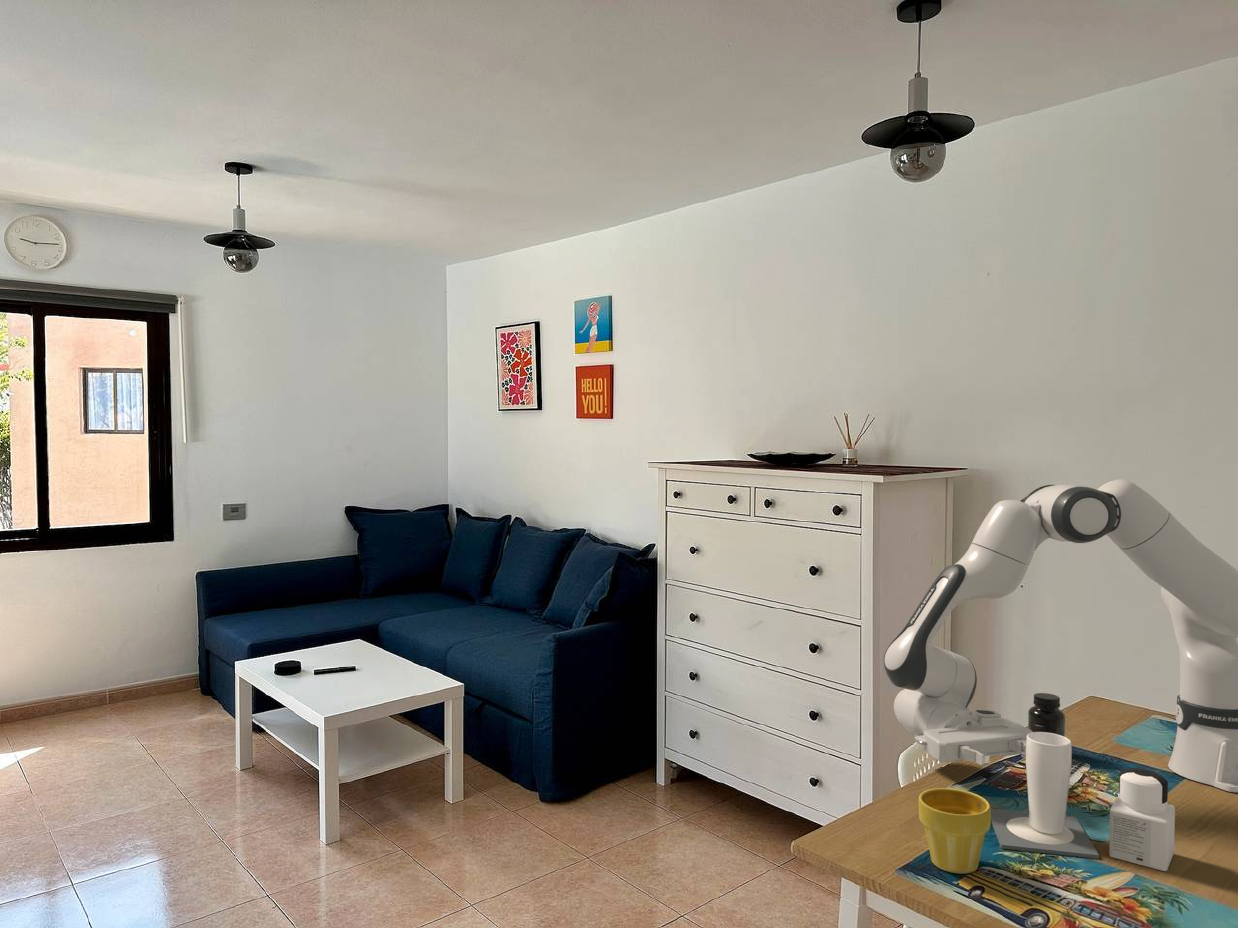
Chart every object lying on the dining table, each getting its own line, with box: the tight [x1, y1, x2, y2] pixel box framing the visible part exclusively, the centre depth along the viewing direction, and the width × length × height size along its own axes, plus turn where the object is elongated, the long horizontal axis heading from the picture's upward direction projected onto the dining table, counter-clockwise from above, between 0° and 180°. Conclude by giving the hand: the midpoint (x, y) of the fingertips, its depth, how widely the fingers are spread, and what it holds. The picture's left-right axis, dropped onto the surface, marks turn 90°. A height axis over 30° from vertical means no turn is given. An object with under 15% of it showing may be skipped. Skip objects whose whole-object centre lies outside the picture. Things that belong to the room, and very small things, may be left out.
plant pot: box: [918, 787, 992, 875], centre depth 134 cm, size 10×10×10 cm
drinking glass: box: [1025, 732, 1073, 834], centre depth 144 cm, size 7×7×15 cm
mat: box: [990, 808, 1100, 860], centre depth 144 cm, size 14×14×1 cm
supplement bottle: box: [1027, 692, 1066, 737], centre depth 180 cm, size 7×7×12 cm
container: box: [1108, 767, 1176, 872], centre depth 136 cm, size 8×8×13 cm
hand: (1009, 757), depth 150 cm, fingers open, 8 cm apart
